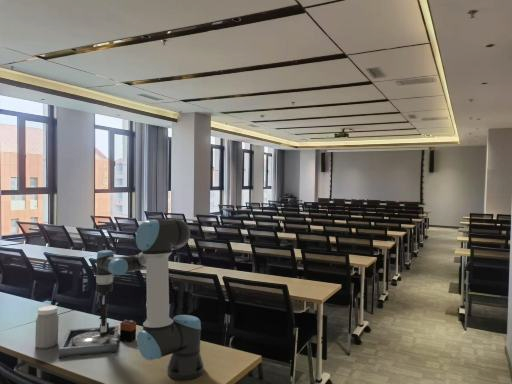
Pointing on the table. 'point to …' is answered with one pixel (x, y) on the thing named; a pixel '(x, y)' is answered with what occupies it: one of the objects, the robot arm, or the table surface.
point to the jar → (46, 327)
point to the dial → (92, 338)
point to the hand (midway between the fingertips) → (103, 331)
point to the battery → (128, 331)
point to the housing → (70, 351)
